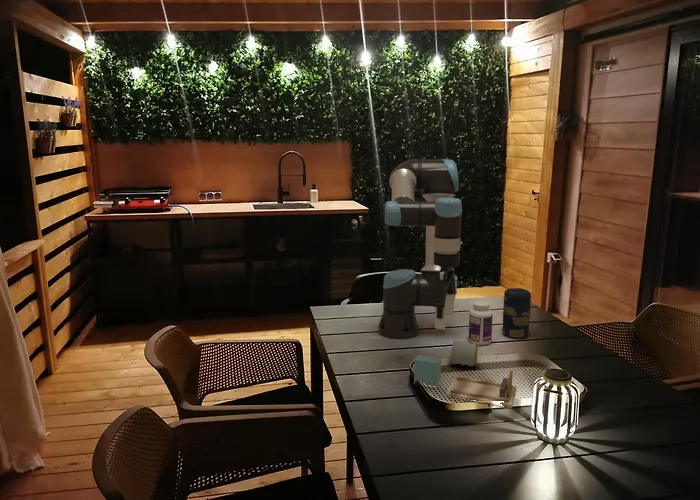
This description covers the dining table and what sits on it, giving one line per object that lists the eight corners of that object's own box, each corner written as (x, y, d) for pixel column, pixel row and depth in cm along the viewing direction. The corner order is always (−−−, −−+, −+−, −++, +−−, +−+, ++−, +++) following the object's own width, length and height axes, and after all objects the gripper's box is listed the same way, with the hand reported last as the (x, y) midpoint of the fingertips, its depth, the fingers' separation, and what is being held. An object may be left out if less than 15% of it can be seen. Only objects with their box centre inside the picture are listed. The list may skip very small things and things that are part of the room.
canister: (531, 339, 200) (535, 291, 196) (505, 339, 200) (508, 291, 196) (524, 330, 209) (527, 284, 205) (499, 330, 209) (501, 284, 206)
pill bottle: (489, 338, 201) (491, 300, 198) (492, 346, 194) (495, 307, 190) (467, 337, 202) (468, 299, 199) (469, 345, 194) (471, 306, 191)
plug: (413, 385, 164) (414, 359, 163) (417, 379, 168) (418, 354, 166) (437, 389, 162) (437, 363, 160) (440, 383, 165) (441, 358, 164)
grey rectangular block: (476, 370, 174) (477, 347, 173) (450, 367, 176) (451, 344, 175) (477, 357, 184) (478, 336, 183) (452, 355, 186) (453, 333, 185)
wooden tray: (446, 396, 157) (446, 373, 155) (454, 379, 168) (455, 358, 166) (511, 408, 150) (513, 384, 149) (516, 389, 161) (517, 367, 160)
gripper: (451, 261, 148) (449, 336, 152) (466, 244, 171) (463, 310, 175) (424, 259, 150) (422, 333, 155) (442, 243, 173) (440, 308, 178)
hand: (444, 321), depth 165 cm, fingers open, 13 cm apart
